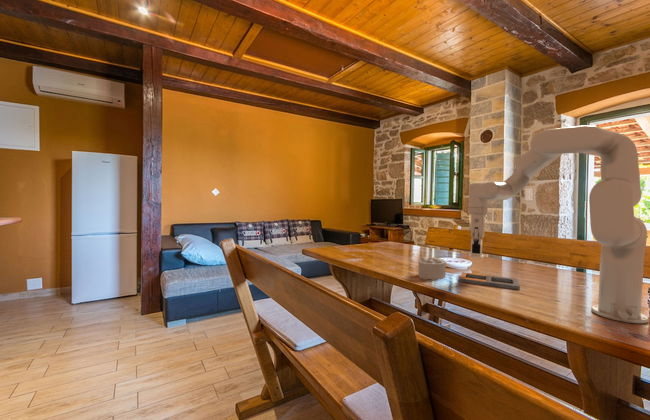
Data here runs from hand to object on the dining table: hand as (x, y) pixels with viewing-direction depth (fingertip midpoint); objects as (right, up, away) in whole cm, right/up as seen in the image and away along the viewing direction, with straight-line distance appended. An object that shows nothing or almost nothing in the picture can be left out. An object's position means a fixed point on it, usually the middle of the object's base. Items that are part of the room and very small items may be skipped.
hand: (476, 252), depth 132 cm
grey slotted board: (+4, -13, -2) cm, 14 cm away
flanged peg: (0, -2, 0) cm, 2 cm away
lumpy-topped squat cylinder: (-18, -13, +6) cm, 23 cm away
